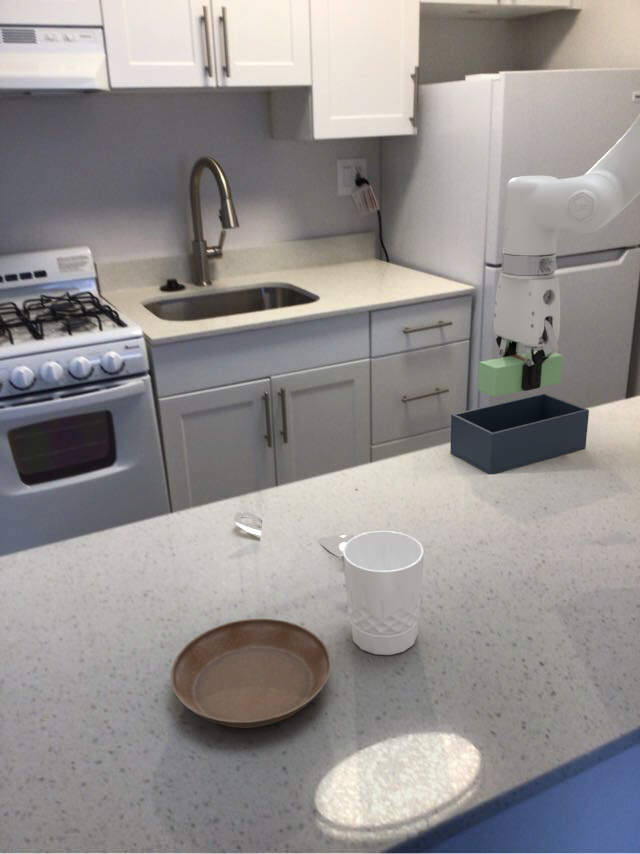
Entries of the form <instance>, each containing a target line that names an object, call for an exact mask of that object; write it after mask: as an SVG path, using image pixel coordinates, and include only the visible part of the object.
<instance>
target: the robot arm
mask: <svg viewBox="0 0 640 854" xmlns="http://www.w3.org/2000/svg"><path fill="white" fill-rule="evenodd" d="M639 195H640V112H639V113H638V115H637V116H636V119H635V120H634V121H633V122H632V124H631V125H630V127H629V129H627V130H626V132H625V133H624V134H623V135H622V136H621V137H620V139H619V140H618V141H617V142H616V143H615V144H614V145H613V146H612V147H611V148H610V149H609V150H608V151H607V152H606V153H605V154H604V155H603V156H602V157H601V158H600V159H599V160H598V161H597V162H596V163H595V164H594V165H593V166H592V167H591V168H590V169H589V170H587V172H585V174H582V175H580V176H575V177H568V178H567V177H566V178H557V177H555V176H553V175H552V176H551V175H520V176H515V177H513V178H511V179H510V180H509V181H508V182H507V184H506V188H505V198H504V199H505V202H504V215H503V217H504V218H503V235H502V238H503V239H502V253H501V254H502V255H501V257H502V258H501V271H500V274H499V277H498V282H497V285H496V293H495V298H494V306H493V324H492V326H491V327H490V331H489V332H490V334H491V336H492V337H493V338H494V340H495V343H496V345H497V347H498V348H499V351H498V354H499V356H500V358H502V357H508V356H511V355H518V353H519V347H520V344H521V345H524V349H525V353H526V365H523V373H522V390H524V391H523V392H527V391H532V390H536V389H540V388H541V387H540V384H541V371H542V364H544V363H545V362H546V359H547V358H549V357H550V355H552V354H554V353H558V352H559V351H560V346H559V343H558V341H559V339H560V331H561V292H560V290H561V289H560V283H559V282H560V281H559V277H558V276H556V275H555V271H556V270H557V268H558V262H556V260H557V259H556V258H557V246H558V245H557V244H558V234H559V231H561V232H567V233H574V234H590V233H594V232H596V231H598V230H600V229H602V228H603V227H604V226H606V225H607V224H608V223H609V222H611V221H612V220H614V219H615V218H616V217H617V216H618V215H619V214H620V213H622V211H624V209H625V208H627V207H628V206H629V205H630V204H631V203H632V202H633V201H634V200H635V199H636V198H638V197H639ZM534 349H536V351H537V352H536V353H535V354H534V351H535V350H534Z"/></svg>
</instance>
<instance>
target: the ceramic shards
mask: <svg viewBox="0 0 640 854" xmlns="http://www.w3.org/2000/svg"><path fill="white" fill-rule="evenodd" d="M242 519H250V520H251V522H252V523H254V524H255V525H254V524H252V523H250V522H248V523H246V522H243V521H242ZM233 522H234V524H235V525H236V526H237V527H238V528H240V529H241V530H243V531H244V532H246V533H248V534H250V535H252V536H254V537H257V538H259V539H261V536H262V526H263V519H262V518H260V517H259V516H257V515H255V514H254V513H252V512H248V511H240V512H236V513H235V514H234V518H233ZM256 525H257V526H256ZM258 526H259V527H258ZM260 527H261V528H260ZM355 536H356V535H352V534H336V535H329V536H324V537H318V538H316V543H318V544H319V545H321V546H322V547H324V548H325V549H326V550H327V551H328V552H330V553H331V554H333V555H334V556H336V557H337V558H339V559H341V560H343V548H344V545H345V544H346V543H347V542H348V541H349V540H350V539H352V538H353V537H355Z"/></svg>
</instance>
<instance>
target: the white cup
mask: <svg viewBox="0 0 640 854" xmlns="http://www.w3.org/2000/svg"><path fill="white" fill-rule="evenodd" d="M354 536H355V537H353V538H352V539H350V540H349V541H348V542H347V543H346V544H345V545H344V548H343V559H342V560H343V569H344V570H343V571H344V583H345V592H346V604H347V612H348V616H349V623H350V633H351V638H352V642H353V643H354V645H356V646H357V647H358V648H359V649H360V650H362V651H365V652H367V653H370V654H373V655H379V656H392V655H396V654H400V653H404V652H405V651H407V650H409V648H410V649H411V647H412V646H414V645H415V642H416V640H417V637H418V633H419V618H420V612H421V599H422V589H423V588H422V587H423V571H424V570H423V569H424V556H425V555H424V553H425V552H424V551H425V549H424V547H423V545H422V544H421V542H420V541H419V540H418V539H416V538H415V537H413V536H412V535H409V534H406V533H403V532H399V531H392V530H374V531H373V530H372V531H366V532H363V533H360V534H358V535H354Z"/></svg>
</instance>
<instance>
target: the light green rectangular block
mask: <svg viewBox="0 0 640 854" xmlns="http://www.w3.org/2000/svg"><path fill="white" fill-rule="evenodd" d="M536 352H537V350H534V354H535V353H536ZM517 354H518V353H517ZM517 354H516V355H511V356H508V357H498V358H493V359H487V360H482V361H479V362H478V382H477V391H479V392H481V393H484V394H486V395H489V396H491V397H493V398H497V397H498V398H499V397H502V396H506V395H507V396H508V395H512V394H516V393H521V392H525V391H524V390H522V373H523V365H526V352H523V353H519V354H518V355H517ZM563 364H564V354H561V353H558V352H556V353H554V354H552V355H550V357H549V358H547V359H546V362H545V363H544V364H542V371H541V384H540V387H539V388H544V387H548V386H552V385H557V384H561V383H562V374H563Z"/></svg>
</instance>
